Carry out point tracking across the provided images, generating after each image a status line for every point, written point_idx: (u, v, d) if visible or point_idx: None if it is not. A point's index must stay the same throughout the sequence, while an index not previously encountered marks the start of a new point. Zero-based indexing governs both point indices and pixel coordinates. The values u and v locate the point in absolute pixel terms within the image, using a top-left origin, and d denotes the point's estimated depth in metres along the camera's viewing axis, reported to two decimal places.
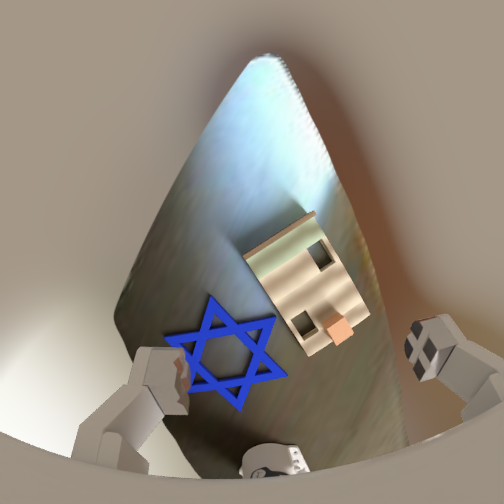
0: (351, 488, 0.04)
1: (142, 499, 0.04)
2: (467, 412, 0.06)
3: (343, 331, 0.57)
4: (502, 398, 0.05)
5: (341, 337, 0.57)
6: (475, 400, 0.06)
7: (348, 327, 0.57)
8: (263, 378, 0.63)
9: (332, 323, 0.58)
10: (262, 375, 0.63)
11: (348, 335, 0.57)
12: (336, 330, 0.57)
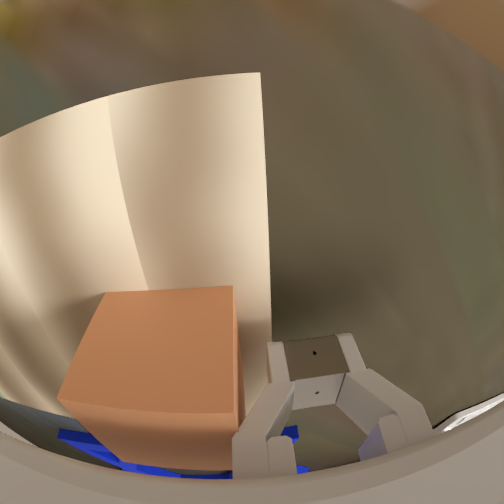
0: (351, 488, 0.04)
1: (142, 499, 0.04)
2: (362, 451, 0.06)
3: (171, 442, 0.06)
4: (390, 449, 0.05)
5: (211, 455, 0.07)
6: (368, 441, 0.06)
7: (151, 420, 0.05)
8: None
9: None
10: None
11: (225, 434, 0.06)
12: (151, 452, 0.07)
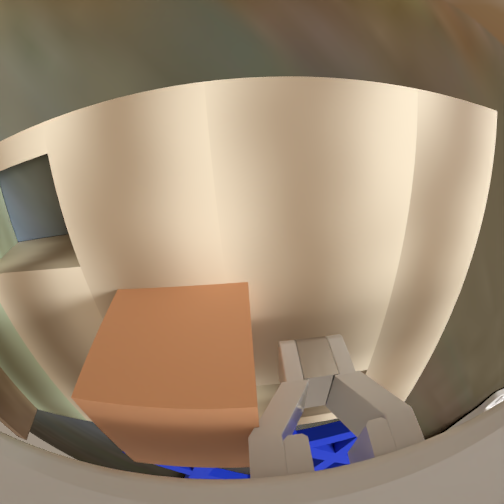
0: (351, 488, 0.04)
1: (142, 499, 0.04)
2: (351, 454, 0.06)
3: (188, 439, 0.06)
4: (377, 453, 0.05)
5: (228, 452, 0.07)
6: (356, 443, 0.06)
7: (171, 417, 0.06)
8: None
9: None
10: (347, 445, 0.22)
11: (245, 430, 0.06)
12: (165, 450, 0.07)
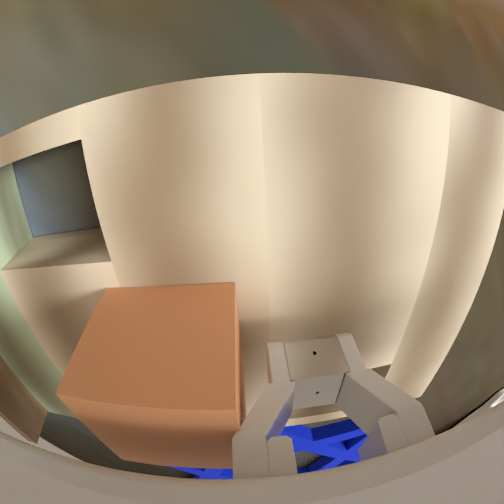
0: (351, 488, 0.04)
1: (142, 499, 0.04)
2: (362, 451, 0.06)
3: (171, 439, 0.06)
4: (390, 449, 0.05)
5: (211, 453, 0.07)
6: (368, 441, 0.06)
7: (151, 417, 0.05)
8: None
9: None
10: (360, 442, 0.22)
11: (226, 432, 0.06)
12: (150, 449, 0.07)
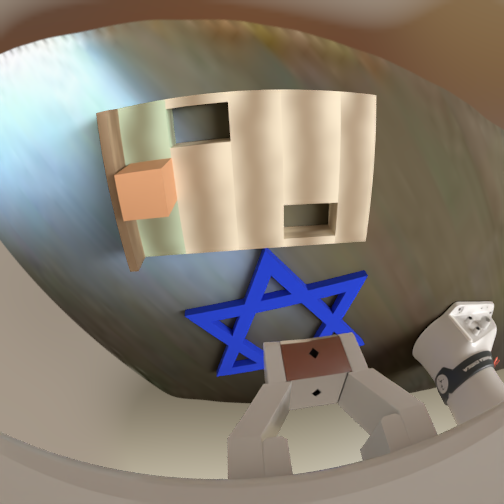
0: (351, 488, 0.04)
1: (142, 499, 0.04)
2: (364, 450, 0.06)
3: (144, 190, 0.24)
4: (393, 448, 0.05)
5: (155, 199, 0.24)
6: (370, 440, 0.06)
7: (140, 176, 0.23)
8: (345, 305, 0.40)
9: None
10: (340, 304, 0.40)
11: (159, 182, 0.24)
12: (136, 203, 0.24)
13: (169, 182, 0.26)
